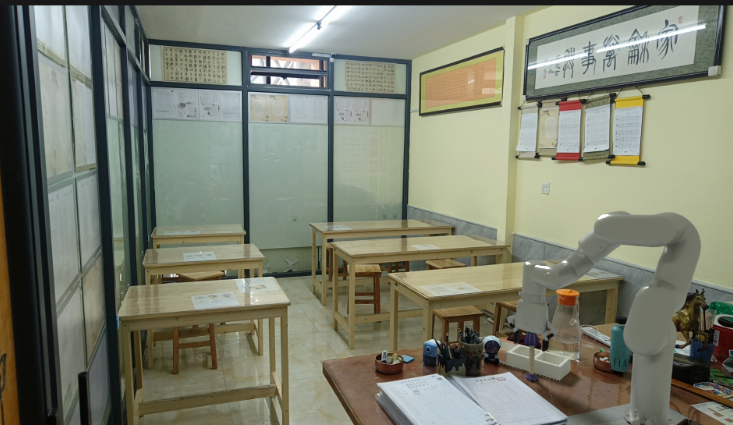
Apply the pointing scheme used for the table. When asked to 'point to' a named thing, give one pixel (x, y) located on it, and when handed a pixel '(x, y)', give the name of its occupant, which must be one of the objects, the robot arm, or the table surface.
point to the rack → (544, 361)
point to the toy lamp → (531, 354)
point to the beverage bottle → (619, 346)
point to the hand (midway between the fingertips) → (530, 346)
